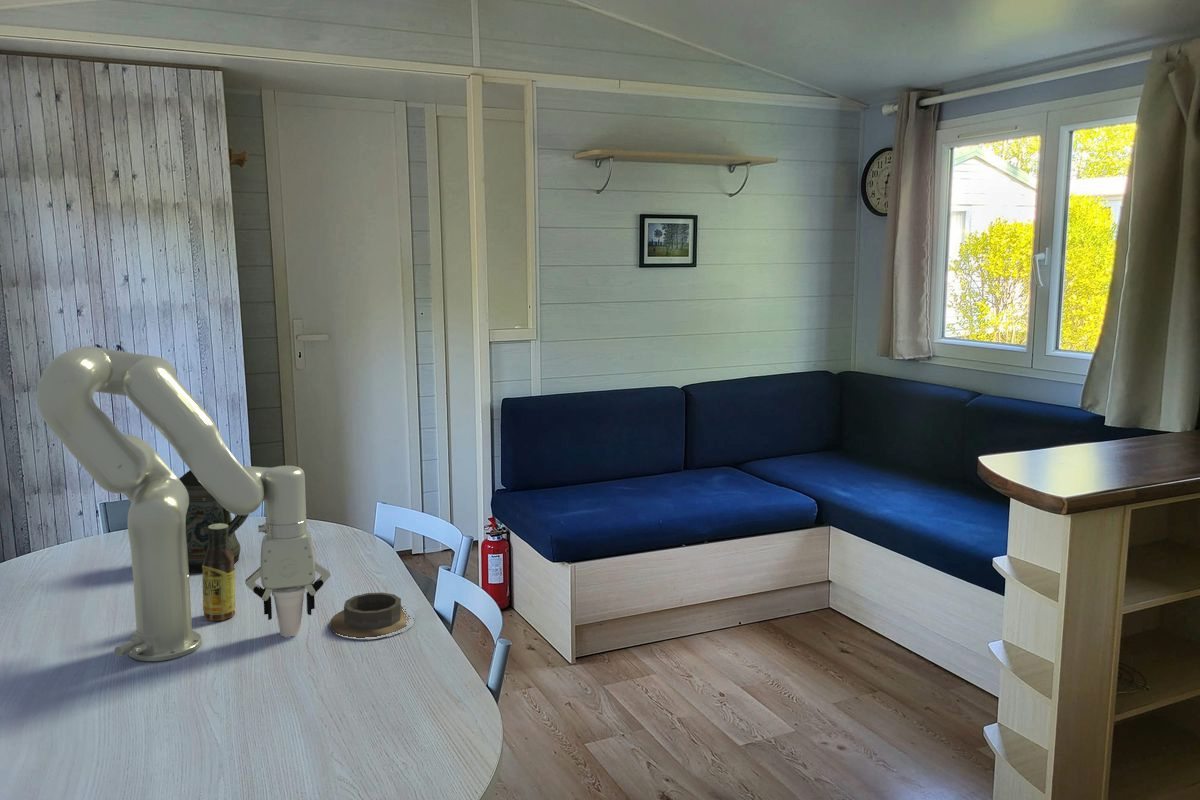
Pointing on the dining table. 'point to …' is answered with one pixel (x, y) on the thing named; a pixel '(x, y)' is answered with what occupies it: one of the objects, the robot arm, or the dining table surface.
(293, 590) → the smoothie
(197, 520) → the beer stein
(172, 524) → the robot arm
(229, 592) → the sauce bottle
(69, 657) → the dining table surface
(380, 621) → the holder
